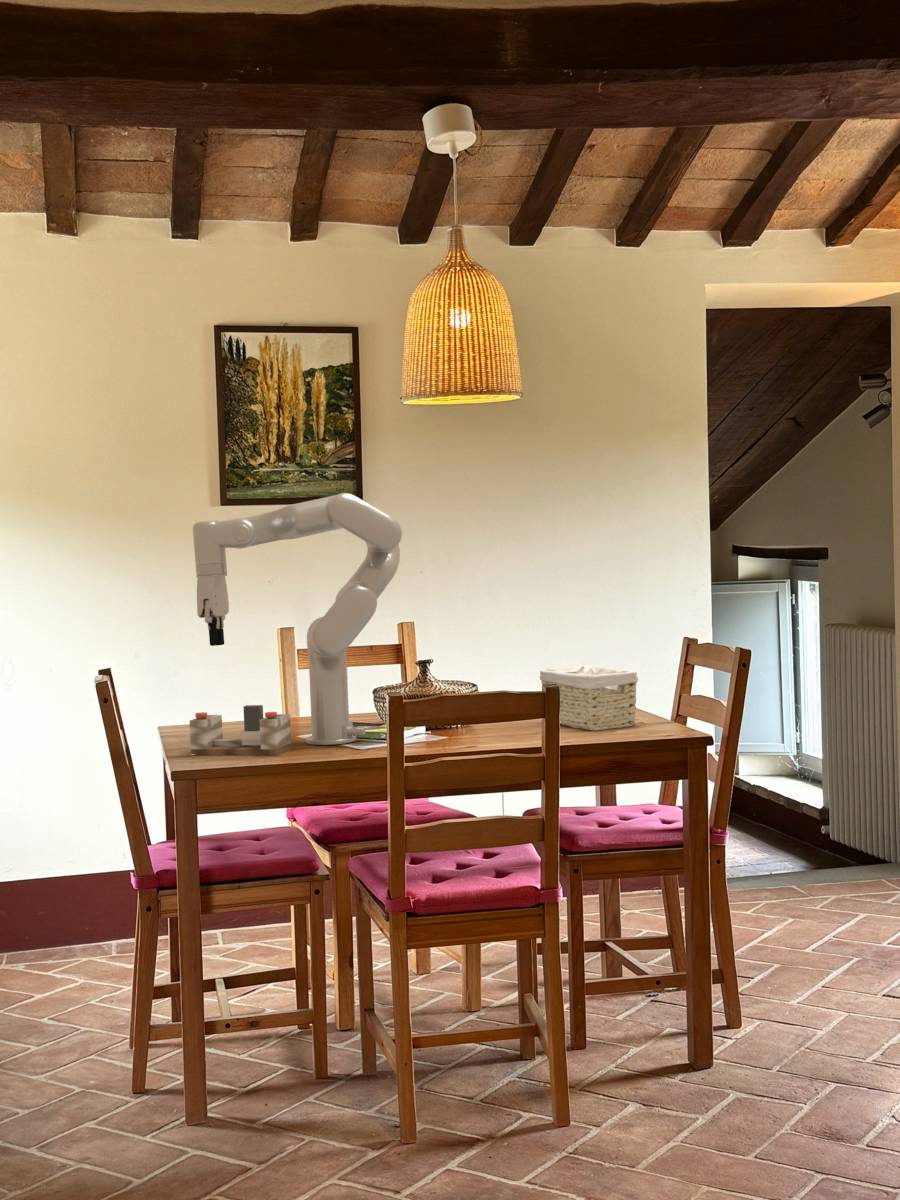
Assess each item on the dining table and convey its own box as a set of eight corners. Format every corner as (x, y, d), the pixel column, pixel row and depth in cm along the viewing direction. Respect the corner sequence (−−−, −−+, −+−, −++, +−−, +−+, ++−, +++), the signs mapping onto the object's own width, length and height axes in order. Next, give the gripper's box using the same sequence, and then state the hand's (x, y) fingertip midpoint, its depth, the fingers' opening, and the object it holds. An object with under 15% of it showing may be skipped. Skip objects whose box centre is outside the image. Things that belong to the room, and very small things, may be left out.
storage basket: (642, 726, 333) (640, 669, 333) (590, 733, 326) (588, 674, 325) (589, 717, 354) (587, 664, 354) (539, 723, 347) (537, 668, 346)
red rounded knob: (209, 728, 316) (208, 712, 315) (204, 730, 313) (204, 713, 313) (199, 728, 316) (198, 712, 316) (194, 730, 314) (193, 713, 313)
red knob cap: (279, 728, 311) (278, 711, 311) (275, 729, 309) (274, 713, 309) (268, 728, 312) (267, 711, 312) (263, 730, 309) (263, 713, 309)
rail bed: (291, 748, 317) (290, 714, 317) (276, 755, 308) (275, 719, 307) (208, 748, 323) (206, 714, 322) (191, 755, 313) (189, 720, 312)
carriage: (268, 742, 316) (266, 704, 316) (260, 745, 311) (258, 706, 311) (249, 742, 317) (247, 704, 317) (241, 745, 312) (239, 707, 312)
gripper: (208, 571, 327) (214, 643, 328) (185, 573, 313) (191, 648, 313) (236, 569, 326) (242, 641, 327) (214, 571, 311) (220, 647, 312)
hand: (217, 645), depth 320 cm, fingers closed
